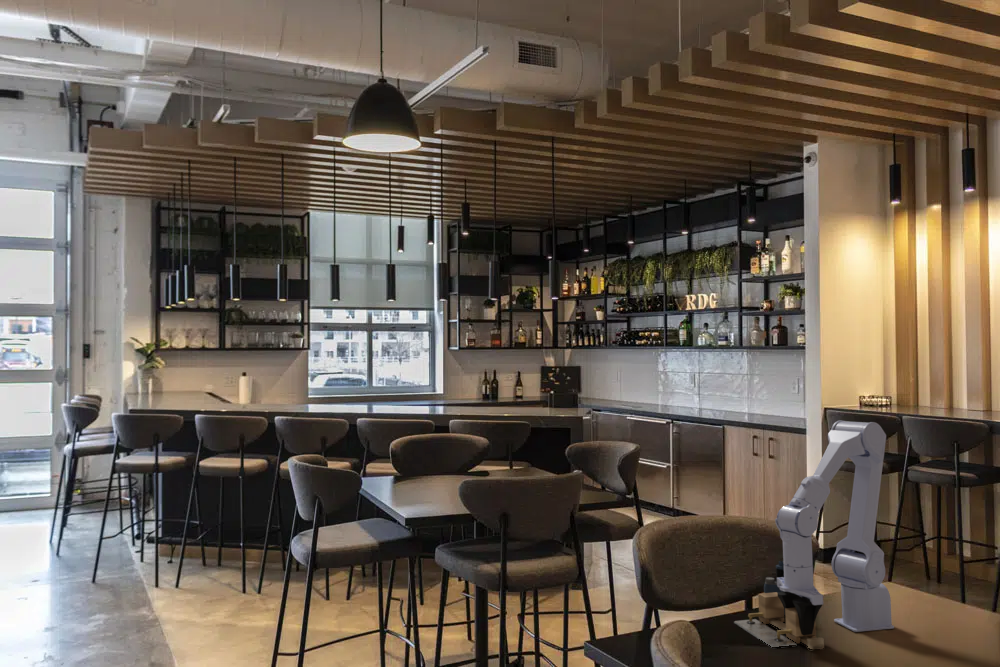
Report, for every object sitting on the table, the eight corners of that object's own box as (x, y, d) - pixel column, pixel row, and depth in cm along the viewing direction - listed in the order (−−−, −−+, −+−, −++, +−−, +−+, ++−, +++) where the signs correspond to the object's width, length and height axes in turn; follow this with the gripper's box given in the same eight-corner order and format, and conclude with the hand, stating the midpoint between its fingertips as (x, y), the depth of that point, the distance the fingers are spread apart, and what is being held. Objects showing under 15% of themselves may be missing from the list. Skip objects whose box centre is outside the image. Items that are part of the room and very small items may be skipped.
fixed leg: (777, 619, 185) (776, 592, 185) (784, 623, 182) (783, 595, 182) (746, 621, 183) (744, 594, 184) (752, 626, 181) (751, 598, 181)
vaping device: (789, 616, 187) (787, 563, 187) (765, 615, 188) (763, 562, 188) (788, 613, 189) (786, 560, 190) (764, 612, 190) (762, 559, 191)
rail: (769, 616, 187) (768, 607, 187) (824, 649, 166) (823, 638, 166) (756, 617, 187) (756, 608, 187) (810, 650, 165) (810, 640, 165)
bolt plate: (755, 621, 184) (755, 618, 184) (796, 646, 168) (796, 643, 168) (734, 622, 183) (733, 620, 183) (772, 648, 167) (772, 645, 167)
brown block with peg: (805, 635, 174) (804, 606, 174) (816, 641, 170) (815, 612, 170) (772, 638, 172) (771, 609, 172) (782, 644, 168) (781, 615, 168)
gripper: (763, 558, 178) (765, 621, 178) (799, 574, 164) (802, 643, 163) (793, 555, 179) (795, 619, 179) (831, 571, 165) (834, 640, 165)
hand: (800, 630), depth 171 cm, fingers closed on brown block with peg, 4 cm apart
